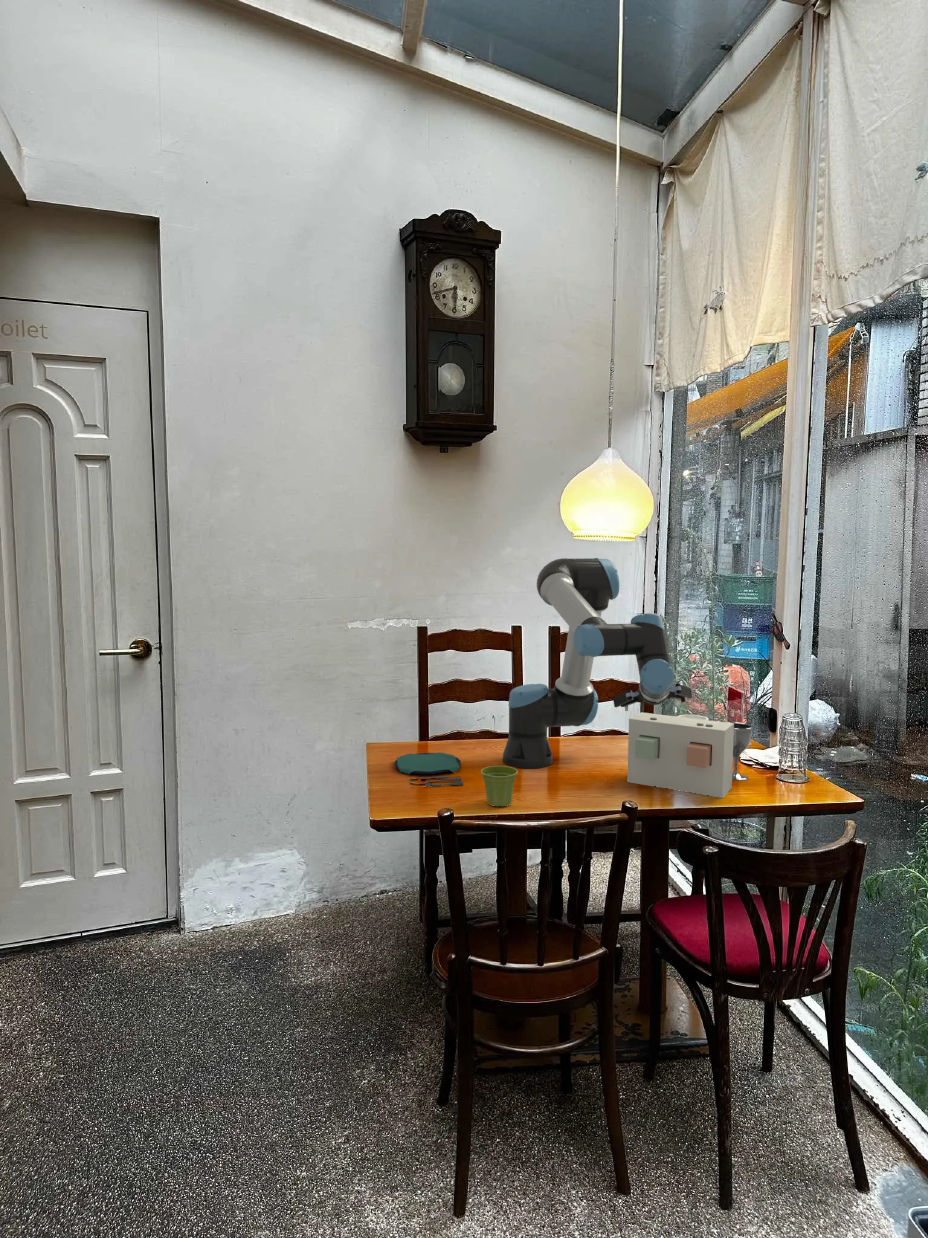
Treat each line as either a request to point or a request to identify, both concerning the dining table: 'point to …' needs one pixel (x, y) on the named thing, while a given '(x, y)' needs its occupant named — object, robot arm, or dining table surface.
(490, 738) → the dining table surface
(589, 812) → the dining table surface
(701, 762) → the terracotta button
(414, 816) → the dining table surface
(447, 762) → the cutlery set
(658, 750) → the sage button
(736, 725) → the wine glass
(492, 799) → the plant pot
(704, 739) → the console
